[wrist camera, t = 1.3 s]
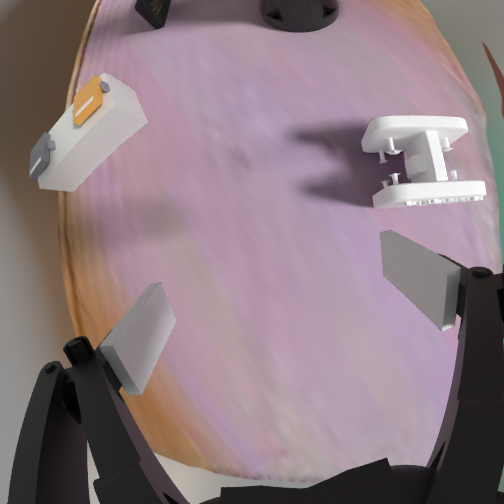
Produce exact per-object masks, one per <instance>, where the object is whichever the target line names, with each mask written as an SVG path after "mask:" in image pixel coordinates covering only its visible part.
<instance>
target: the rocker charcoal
mask: <svg viewBox="0 0 504 504" xmlns="http://www.w3.org/2000/svg"><path fill="white" fill-rule="evenodd" d="M48 140H50V134H48V133H46V132H45V133H44V134H43V135H42V137H41V138H40V139H39V141H38V142H37V144H36V145H35V146H34V148H33V149H32V151H31V156H30V167H29V180H32V181H35V180H36V179H37V177H38V176H39V175H40V173H41V172H42V170H43V169H44V168H45V166H46V165H47V164H48V163H49V149H48V144H47V141H48Z"/></svg>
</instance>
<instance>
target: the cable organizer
mask: <svg viewBox="0 0 504 504" xmlns="http://www.w3.org/2000/svg"><path fill="white" fill-rule="evenodd" d="M467 132H468V128H467V124H466V121H465V120H464V119H463V118H459V117H446V116H384V117H379V118H376V119H373V120H372V121H370V123H369V125H368V127H367V130H366V132H365V134H364V136H363V139H362V141H361V144H362V149H363V151H364V152H368V153H378V152H379V155H380V159H381V161H380V164H381V163H387V162H386V161H388V160H385V156H384V152H385V153H390V154H389V155H395V154H399V153H400V152H401V151H405V152H406V156H407V159H406V160H405V162H404V163H405V168H406V173H407V178H408V179H411V182H412V183H403V184H399V183H398V177H397V176H398V174H401V173H394V174H391V175H390V177H392V179H393V185H391V186H388V181H391V180H388V181H386V180H385V181H382V183H383V186H384V189H382V190H381V191H379V192H378V193H376V194H375V195H373V196H372V198H373V205H374V208H380V209H384V208H397V207H408V206H424V205H431V204H434V205H436V204H438V205H439V204H452V203H458V202H465V201H468V202H469V201H481V200H483V198H482V197H483V196H485V195H486V189H485V183H484V181H481V180H457V175H456V172H457V171H455V170H453V171H449V173H451V175H452V180H453V181H448V178H447V174H448V173H446V168H445V163H444V158H443V154H442V150H444V151H450V150H451V149H453V148H450V146H449V144H451V143H452V142H454V141H455V140H457V139H458V138H459V137H461V136H462V135H464V134H465V133H467ZM442 148H445V149H442ZM441 149H442V150H441ZM444 151H443V152H444Z"/></svg>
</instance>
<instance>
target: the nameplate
mask: <svg viewBox="0 0 504 504" xmlns="http://www.w3.org/2000/svg"><path fill="white" fill-rule="evenodd" d="M170 2H171V0H137V2H136V5H135V9H136V11H137V12H138V13H139V14H140V15H141V16H143V17H144V18H145V19H146V20H147V21H148V22H149V23H150V24H151V25H152V26H153V27H154V28H155V29H158V28H160V27H163V26H164V24H165V20H166V17H167V13H168V9H169V6H170Z"/></svg>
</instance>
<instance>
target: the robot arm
mask: <svg viewBox="0 0 504 504" xmlns="http://www.w3.org/2000/svg"><path fill="white" fill-rule="evenodd" d="M259 8H260V11H261V14H262V16H263V18H264V20H265V21H266V22H267V23H269V24H270V25H272V26H273V27H276V28H278V29H281V30H285V31H291V32H309V31H315V30H319V29H322V28H324V27H327V26H328V25H330V24H331V23H333V22H334V21H335V19H336V18H337V16H338V2H337V0H260V2H259ZM380 240H381V251H382V264H383V276H384V277H385V278H386V279H387V280H389V281H390V282H391V283H392V284H393V285H394V286H395V287H396V288H397V289H398V290H399V291H401V292H402V293H403V294H404V295H405V296H406V297H407V298H408V299H409V300H410V301H411V302H412V303H413V304H414V305H415V306H416V307H417V308H418V309H419V310H421V311H422V312H423V313H424V314H425V315H426V316H427V317H428V318H429V319H430V320H431V321H432V322H433V323H434V324H435V325H436V326H437V327H438V328H439V329H440V330H441V331H444V330H446V329H448V328H451V327H453V326H455V319H456V314H458V315H459V316H460V317H461V323H460V329H459V334H458V339H459V342H458V350H457V357H456V363H455V369H454V375H453V380H452V385H451V390H450V394H449V399H448V403H447V407H446V411H445V415H444V418H443V422H442V425H441V428H440V432H439V435H438V438H437V441H436V444H435V447H434V450H433V452H432V455H431V457H430V459H429V461H428V464H427V466H426V467H423V466H416V465H394V466H390V465H389V462H388V459H387V458H384V459H381V460H378V461H375V462H372V463H369V464H366V465H363V466H360V467H356V468H353V469H349V470H346V471H344V472H342V473H340V474H338V475H336V476H334V477H332V478H330V479H327V480H325V481H323V482H320V483H318V484H316V485H314V486H311V487H308V488H302V489H299V488H298V489H297V488H282V487H271V486H261V485H260V486H248V487H222V488H221V495H220V497H216V498H213V499H210V500H207V501H205V502H202V503H200V504H504V492H500V491H498V487H499V483H500V479H501V475H502V471H503V466H504V344H503V339H504V265H503V273H500V274H495V275H493V272H492V271H491V270H490V269H488V268H485V267H472V268H470V269H468V268H466V267H464V266H463V265H461V264H459V263H457V262H456V261H454V260H451V259H450V258H448V257H447V256H445V255H441V254H437V253H434V252H433V251H431V250H429V249H427V248H425V247H423V246H421V245H419V244H418V243H416V242H414V241H412V240H410V239H408V238H406V237H404V236H402V235H400V234H398V233H396V232H394V231H392V230H388V231H384V232H380ZM175 323H176V320H175V317H174V315H173V312H172V310H171V307H170V304H169V302H168V299H167V297H166V294H165V291H164V288H163V286H162V283H161V282H159V283H154V284H150V285H149V286H148V287H147V289H146V290H145V291H144V292H143V293H142V294H141V296H140V297H139V298H138V299H137V300H136V302H135V303H134V304H133V305H132V306H131V308H130V309H129V310H128V311H127V312H126V314H125V315H124V316H123V317H122V318H121V320H120V321H119V322H118V323H117V325H116V326H115V327H114V328H113V329H112V330H111V331H110V332H109V333H108V335H107V337H105V338H104V340H103V341H102V342H101V343H100V345H99V346H98V347H97V348H96V350H95V351H94V349H93V348H92V346H91V344H90V342H89V340H88V338H87V337H86V336H80V337H77V338H75V339H73V340H71V341H69V342H68V343H67V344H66V345H65V346H64V348H63V350H64V352H65V354H66V356H67V358H68V359H69V361H70V362H71V364H72V367H71V368H67V369H64V368H63V366H62V364H61V363H60V362H59V361H53V362H51V363H50V362H49V363H47V364H46V365H45V366H44V367H43V368H42V370H41V371H40V373H39V376H38V379H37V381H36V384H35V387H34V390H33V392H32V395H31V398H30V402H29V405H28V407H27V411H26V414H25V417H24V421H23V425H22V428H21V432H20V436H19V440H18V444H17V449H16V453H15V457H14V462H13V468H12V474H11V480H10V488H9V496H8V503H7V504H90V499H89V488H88V470H87V440H88V443H89V447H90V450H91V453H92V456H93V459H94V462H95V465H96V468H97V471H98V474H99V477H100V478H99V479H96V480H94V482H93V485H94V489H95V492H96V495H97V497H98V500H99V502H100V504H190V503H189V502H188V501H187V500H186V499H185V498H184V497H183V495H182V494H181V492H180V491H179V490H178V488H177V487H176V486H175V484H174V483H173V482H172V480H171V479H170V477H169V476H168V475H167V473H166V472H165V470H164V469H163V467H162V466H161V464H160V463H159V461H158V460H157V458H156V456H155V455H154V453H153V452H152V450H151V448H150V447H149V445H148V443H147V442H146V440H145V438H144V437H143V435H142V433H141V431H140V430H139V428H138V426H137V424H136V422H135V420H134V419H133V417H132V415H131V413H130V411H129V409H128V407H127V405H126V403H125V401H124V399H123V397H122V395H121V394H120V392H119V390H120V388H121V386H122V387H123V388H124V390H125V391H126V393H127V394H128V395H142V393H143V391H144V389H145V387H146V384H147V382H148V380H149V378H150V376H151V373H152V371H153V369H154V367H155V365H156V363H157V361H158V358H159V356H160V354H161V352H162V350H163V348H164V346H165V344H166V342H167V339H168V337H169V335H170V333H171V331H172V329H173V327H174V325H175Z"/></svg>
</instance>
